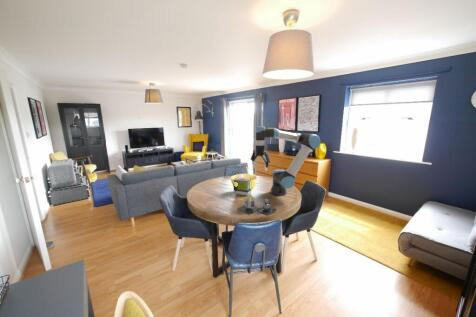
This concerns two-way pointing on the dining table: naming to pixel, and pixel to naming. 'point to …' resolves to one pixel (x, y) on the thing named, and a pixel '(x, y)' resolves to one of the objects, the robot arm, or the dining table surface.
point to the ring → (249, 202)
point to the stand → (266, 208)
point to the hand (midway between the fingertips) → (259, 169)
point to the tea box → (242, 186)
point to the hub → (249, 208)
